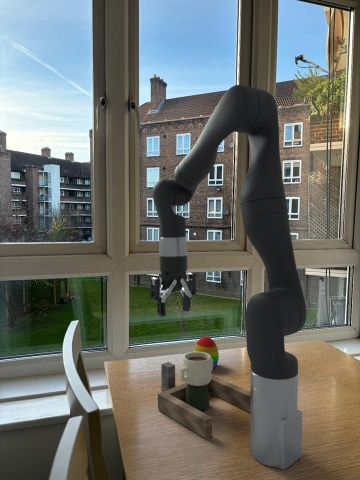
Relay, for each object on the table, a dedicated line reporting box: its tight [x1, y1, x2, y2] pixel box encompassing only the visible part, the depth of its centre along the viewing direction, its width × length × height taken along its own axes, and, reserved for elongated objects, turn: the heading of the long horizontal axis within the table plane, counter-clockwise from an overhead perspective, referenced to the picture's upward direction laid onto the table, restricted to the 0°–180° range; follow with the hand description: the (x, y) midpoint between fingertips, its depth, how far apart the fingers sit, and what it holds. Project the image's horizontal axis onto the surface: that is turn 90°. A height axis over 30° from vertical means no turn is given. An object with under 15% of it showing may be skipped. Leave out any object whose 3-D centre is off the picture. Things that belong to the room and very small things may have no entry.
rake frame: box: [157, 361, 251, 439], centre depth 98 cm, size 26×18×7 cm
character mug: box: [179, 351, 214, 411], centre depth 97 cm, size 11×7×13 cm, turn 131°
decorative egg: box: [192, 335, 220, 370], centre depth 122 cm, size 8×8×10 cm
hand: (174, 313), depth 104 cm, fingers open, 8 cm apart
